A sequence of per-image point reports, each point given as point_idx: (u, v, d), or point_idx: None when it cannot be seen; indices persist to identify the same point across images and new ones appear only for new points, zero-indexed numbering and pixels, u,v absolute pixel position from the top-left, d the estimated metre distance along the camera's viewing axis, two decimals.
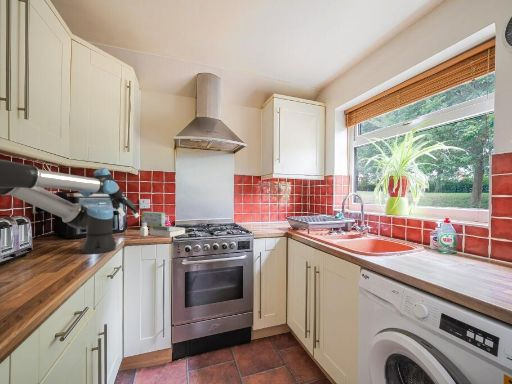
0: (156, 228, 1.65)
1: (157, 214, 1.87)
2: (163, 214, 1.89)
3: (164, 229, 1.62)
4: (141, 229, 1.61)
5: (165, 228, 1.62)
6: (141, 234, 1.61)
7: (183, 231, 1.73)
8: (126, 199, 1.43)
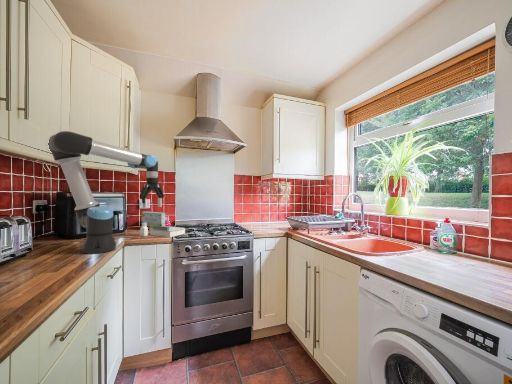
0: (156, 228, 1.65)
1: (157, 214, 1.87)
2: (163, 214, 1.89)
3: (164, 229, 1.62)
4: (141, 229, 1.61)
5: (165, 228, 1.62)
6: (141, 234, 1.61)
7: (183, 231, 1.73)
8: (144, 186, 1.52)
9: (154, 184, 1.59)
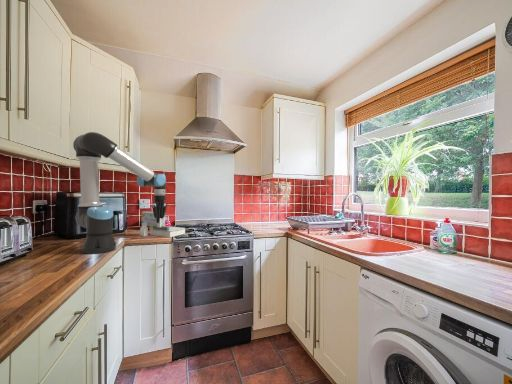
0: (156, 228, 1.65)
1: None
2: None
3: (164, 229, 1.62)
4: (141, 229, 1.61)
5: (165, 228, 1.62)
6: (141, 234, 1.61)
7: (183, 231, 1.73)
8: (153, 207, 1.58)
9: (161, 201, 1.64)
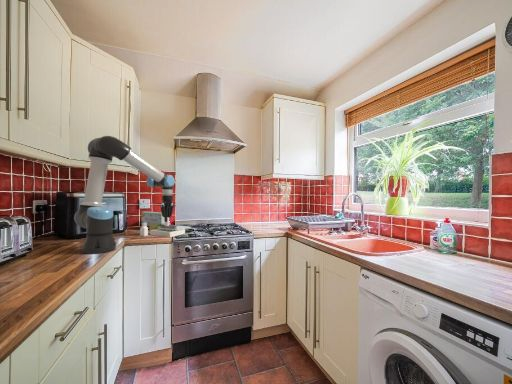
0: (164, 227, 1.72)
1: (157, 214, 1.87)
2: None
3: (172, 228, 1.69)
4: (141, 229, 1.61)
5: (172, 227, 1.69)
6: (141, 234, 1.61)
7: (183, 231, 1.73)
8: (161, 207, 1.65)
9: (169, 201, 1.71)
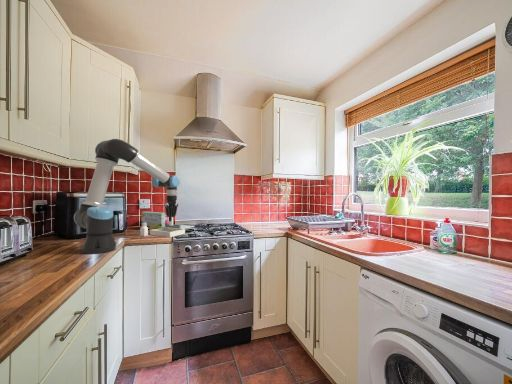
0: (168, 226, 1.76)
1: (157, 214, 1.87)
2: (163, 214, 1.89)
3: (176, 227, 1.73)
4: (141, 229, 1.61)
5: (177, 226, 1.73)
6: (141, 234, 1.61)
7: (183, 231, 1.73)
8: (166, 206, 1.69)
9: (173, 201, 1.75)
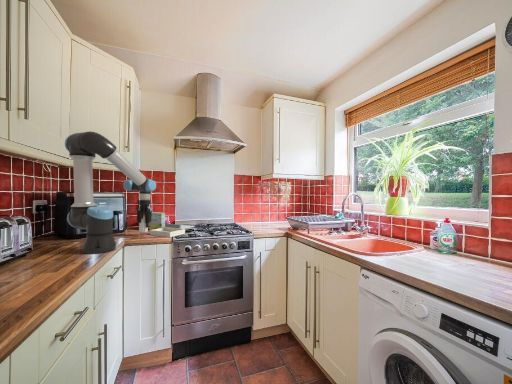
0: (168, 226, 1.77)
1: (157, 214, 1.87)
2: (163, 214, 1.89)
3: (176, 227, 1.74)
4: (140, 225, 1.61)
5: (177, 226, 1.73)
6: (140, 230, 1.61)
7: (183, 231, 1.73)
8: (150, 211, 1.61)
9: None
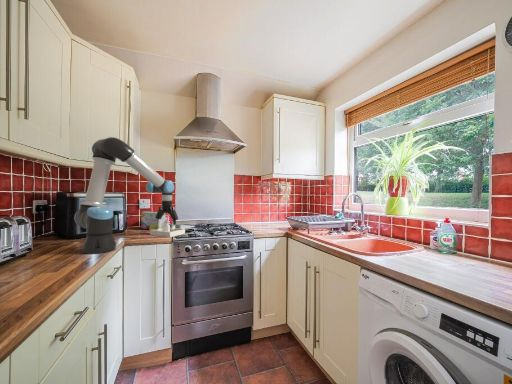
0: None
1: None
2: None
3: (176, 227, 1.74)
4: (163, 227, 1.68)
5: (177, 226, 1.73)
6: None
7: (183, 231, 1.73)
8: (174, 209, 1.68)
9: None
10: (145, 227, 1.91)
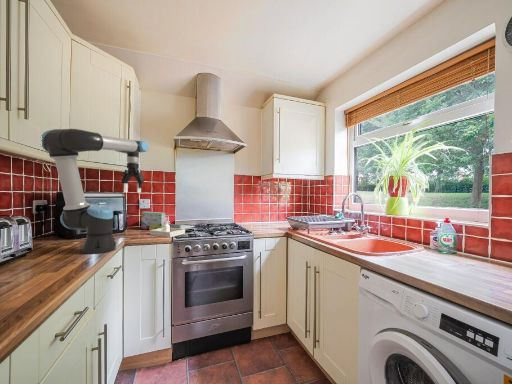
0: None
1: (157, 214, 1.87)
2: (163, 214, 1.89)
3: (176, 227, 1.74)
4: (163, 227, 1.68)
5: (177, 226, 1.73)
6: None
7: (183, 231, 1.73)
8: (139, 172, 1.59)
9: None
10: (145, 227, 1.91)
